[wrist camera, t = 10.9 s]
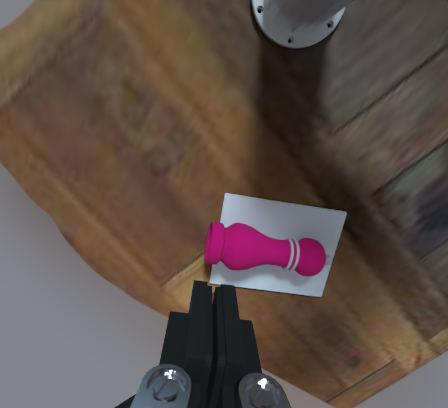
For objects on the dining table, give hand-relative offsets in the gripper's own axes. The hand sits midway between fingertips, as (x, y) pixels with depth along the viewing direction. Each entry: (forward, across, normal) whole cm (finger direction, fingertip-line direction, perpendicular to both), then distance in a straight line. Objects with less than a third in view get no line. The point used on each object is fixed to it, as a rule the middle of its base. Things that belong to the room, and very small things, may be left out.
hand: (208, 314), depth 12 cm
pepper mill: (+31, -1, +11) cm, 33 cm away
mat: (+35, -13, +12) cm, 39 cm away
